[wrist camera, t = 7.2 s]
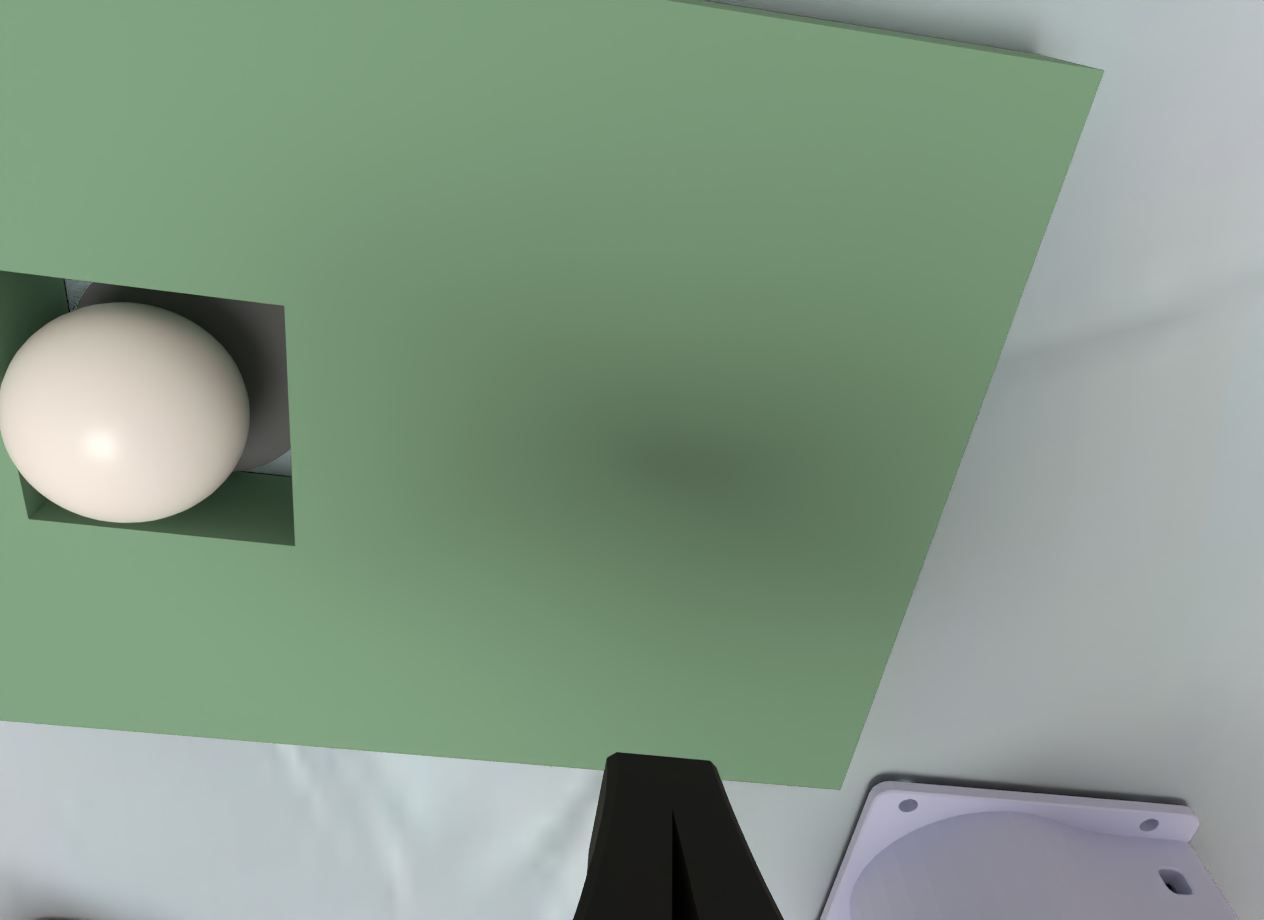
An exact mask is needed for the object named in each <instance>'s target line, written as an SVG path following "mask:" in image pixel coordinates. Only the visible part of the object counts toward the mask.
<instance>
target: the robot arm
mask: <svg viewBox="0 0 1264 920" xmlns="http://www.w3.org/2000/svg"><path fill="white" fill-rule="evenodd" d="M906 799H907V800H906ZM1199 824H1200V821H1199V818H1198V817H1197V815H1196V814H1195V812H1194V811H1193V810H1192V809H1191V808H1190V807H1187V806H1182V805H1171V804H1159V803H1147V802H1135V801H1123V800H1111V799H1099V798H1088V797H1076V796H1064V795H1052V794H1040V793H1028V792H1016V791H1004V790H992V789H980V788H968V787H956V786H944V785H933V784H921V783H909V782H897V781H884V782H881V783H879V784H877V785H876V786H874V787H873V788H872V790H871V791H870V793H869V795H868V798H867V800H866V803H865V805H864V808H863V811H862V813H861V816H860V818H859V821H858V823H857V826H856V828H855V831H854V834H853V836H852V839H851V841H850V844H849V846H848V849H847V852H846V854H845V857H844V859H843V862H842V864H841V867H840V869H839V872H838V875H837V877H836V880H835V882H834V885H833V887H832V890H831V893H830V895H829V898H828V900H827V903H826V905H825V908H824V911H823V913H822V916H821V918H820V920H1239V919H1238V918H1237V916H1236V915H1235V913H1234V911H1233V910H1232V908H1231V907H1230V905H1229V904H1228V902H1227V901H1226V899H1225V898H1224V896H1223V895H1222V893H1221V891H1220V890H1219V888H1218V887H1217V885H1216V884H1215V882H1214V881H1213V879H1212V878H1211V876H1210V875H1209V873H1208V871H1207V870H1206V868H1205V867H1204V865H1203V864H1202V862H1201V861H1200V859H1199V858H1198V856H1197V855H1196V853H1195V851H1194V850H1193V848H1192V847H1191V845H1190V844H1189V841H1190V840H1191V838H1192V837H1193V835H1194V834H1195V832H1196V831H1197V829H1198V827H1199ZM573 920H784V919H783V917H782V915H781V913H780V911H779V909H778V907H777V905H776V903H775V901H774V899H773V897H772V895H771V893H770V891H769V889H768V887H767V885H766V883H765V881H764V879H763V877H762V875H761V873H760V871H759V868H758V866H757V864H756V862H755V860H754V858H753V855H752V853H751V851H750V849H749V847H748V844H747V842H746V840H745V838H744V835H743V833H742V831H741V828H740V826H739V824H738V821H737V819H736V817H735V814H734V812H733V809H732V807H731V804H730V802H729V799H728V797H727V794H726V792H725V789H724V786H723V784H722V781H721V778H720V775H719V773H718V770H717V768H716V766H715V765H714V764H713V763H712V762H711V761H709V760H699V759H688V758H677V757H666V756H655V755H644V754H633V753H622V752H616V753H614V754H612V755H611V756H609V757H607V759H606V764H605V769H604V775H603V780H602V785H601V790H600V795H599V801H598V806H597V811H596V816H595V822H594V827H593V832H592V837H591V842H590V848H589V855H588V869H587V876H586V880H585V883H584V887H583V890H582V894H581V897H580V900H579V903H578V907H577V910H576V913H575V915H574V918H573Z"/></svg>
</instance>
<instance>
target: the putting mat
mask: <svg viewBox="0 0 1264 920" xmlns="http://www.w3.org/2000/svg"><path fill="white" fill-rule="evenodd" d="M1103 72H1104V70H1100V69H1096V68H1092V67H1088V66H1084V65H1080V64H1076V63H1072V62H1067V61H1063V60H1059V59H1055V58H1051V57H1047V56H1043V55H1039V54H1034V53H1028V52H1021V51H1015V50H1009V49H1003V48H997V47H990V46H984V45H978V44H972V43H965V42H959V41H953V40H947V39H941V38H934V37H928V36H922V35H916V34H909V33H903V32H897V31H891V30H885V29H878V28H872V27H866V26H860V25H854V24H847V23H841V22H835V21H829V20H822V19H816V18H810V17H804V16H798V15H791V14H785V13H779V12H773V11H766V10H760V9H754V8H748V7H742V6H735V5H729V4H723V3H717V2H711V1H704V0H0V389H1V384H2V381H3V379H4V376H5V373H6V371H7V369H8V366H9V364H10V362H11V361H12V359H13V357H14V356H15V354H16V353H17V351H18V350H19V349H20V348H21V347H22V345H23V344H24V343H25V342H26V341H27V340H28V339H29V338H30V336H32V335H33V334H34V333H35V332H37V331H38V330H39V329H40V328H42V327H43V326H44V325H46V324H47V323H49V322H50V321H52V320H54V319H56V318H58V317H59V316H61V315H64V314H67V313H69V310H68V304H67V298H66V292H65V286H64V280H63V278H66V279H74V280H82V281H90V282H93V283H92V284H91V285H90V286H89V287H88V289H87V290H86V292H85V293H84V295H83V297H82V298H81V300H80V302H79V304H78V307H77V309H79V308H83V307H87V306H91V305H95V304H104V303H114V302H131V303H139V304H146V305H151V306H155V307H159V308H162V309H165V310H168V311H171V312H174V313H176V314H178V315H181V316H183V317H185V318H187V319H189V320H190V321H192V322H194V323H195V324H197V325H199V326H200V327H202V328H203V329H204V330H205V331H207V332H208V333H209V334H211V335H212V336H213V337H214V338H215V339H216V340H217V341H218V342H219V343H220V344H221V345H222V346H223V347H224V348H225V350H226V351H227V352H228V353H229V354H230V356H231V357H232V359H233V361H234V362H235V364H236V365H237V367H238V369H239V371H240V373H241V375H242V378H243V381H244V384H245V387H246V390H247V393H248V399H249V405H250V426H249V432H248V437H247V441H246V444H245V447H244V450H243V453H242V455H241V457H240V459H239V461H238V463H237V464H236V466H235V468H234V470H233V471H232V472H231V474H230V475H229V476H228V478H227V479H226V480H225V481H224V482H223V483H222V484H221V485H220V486H219V487H218V488H217V489H216V490H215V491H214V492H213V493H212V494H211V495H209V496H208V497H207V498H205V499H204V500H202V501H201V502H199V503H198V504H196V505H195V506H193V507H191V508H189V509H187V510H185V511H183V512H180V513H177V514H175V515H172V516H169V517H166V518H162V519H158V520H154V521H147V522H134V523H118V522H107V521H101V520H96V519H92V518H88V517H84V516H82V515H79V514H76V513H73V512H71V511H69V510H67V509H65V508H63V507H61V506H59V505H57V504H55V503H54V502H52V501H50V500H49V499H47V498H46V497H45V496H43V495H42V494H41V493H39V492H38V491H37V490H36V489H35V488H34V487H33V486H32V485H31V484H29V483H28V481H27V480H26V479H25V478H24V477H23V476H22V474H21V473H20V472H19V470H18V469H17V467H16V466H15V464H14V463H13V461H12V460H11V458H10V456H9V454H8V452H7V450H6V448H5V445H4V442H3V439H2V435H1V431H0V721H11V722H23V723H36V724H48V725H60V726H72V727H84V728H96V729H108V730H120V731H133V732H145V733H157V734H169V735H181V736H193V737H205V738H217V739H230V740H242V741H254V742H266V743H278V744H290V745H302V746H314V747H326V748H339V749H351V750H363V751H375V752H387V753H399V754H411V755H423V756H436V757H448V758H460V759H472V760H484V761H496V762H508V763H520V764H533V765H545V766H557V767H569V768H581V769H593V770H604V769H605V764H606V759H607V757H609V756H611V755H612V754H614V753H616V752H622V753H633V754H644V755H655V756H666V757H677V758H688V759H699V760H709V761H711V762H712V763H713V764H714V765H715V766H716V768H717V770H718V773H719V775H720V778H721V780H726V781H739V782H751V783H763V784H775V785H787V786H799V787H811V788H823V789H836V790H840V789H841V787H842V784H843V781H844V779H845V776H846V773H847V770H848V768H849V765H850V762H851V759H852V757H853V754H854V751H855V749H856V746H857V743H858V740H859V738H860V735H861V732H862V729H863V727H864V724H865V721H866V719H867V716H868V713H869V710H870V708H871V705H872V702H873V699H874V697H875V694H876V691H877V689H878V686H879V683H880V680H881V678H882V675H883V672H884V669H885V667H886V664H887V661H888V659H889V656H890V653H891V650H892V648H893V645H894V642H895V640H896V637H897V634H898V631H899V629H900V626H901V623H902V620H903V618H904V615H905V612H906V610H907V607H908V604H909V601H910V599H911V596H912V593H913V590H914V588H915V585H916V582H917V580H918V577H919V574H920V571H921V569H922V566H923V563H924V560H925V558H926V555H927V552H928V550H929V547H930V544H931V541H932V539H933V536H934V533H935V530H936V528H937V525H938V522H939V520H940V517H941V514H942V511H943V509H944V506H945V503H946V500H947V498H948V495H949V492H950V490H951V487H952V484H953V481H954V479H955V476H956V473H957V470H958V468H959V465H960V462H961V460H962V457H963V454H964V451H965V449H966V446H967V443H968V440H969V438H970V435H971V432H972V430H973V427H974V424H975V421H976V419H977V416H978V413H979V410H980V408H981V405H982V402H983V400H984V397H985V394H986V391H987V389H988V386H989V383H990V380H991V378H992V375H993V372H994V370H995V367H996V364H997V361H998V359H999V356H1000V353H1001V351H1002V348H1003V345H1004V342H1005V340H1006V337H1007V334H1008V331H1009V329H1010V326H1011V323H1012V321H1013V318H1014V315H1015V312H1016V310H1017V307H1018V304H1019V301H1020V299H1021V296H1022V293H1023V291H1024V288H1025V285H1026V282H1027V280H1028V277H1029V274H1030V271H1031V269H1032V266H1033V263H1034V261H1035V258H1036V255H1037V252H1038V250H1039V247H1040V244H1041V241H1042V239H1043V236H1044V233H1045V231H1046V228H1047V225H1048V222H1049V220H1050V217H1051V214H1052V211H1053V209H1054V206H1055V203H1056V201H1057V198H1058V195H1059V192H1060V190H1061V187H1062V184H1063V181H1064V179H1065V176H1066V173H1067V171H1068V168H1069V165H1070V162H1071V160H1072V157H1073V154H1074V151H1075V149H1076V146H1077V143H1078V141H1079V138H1080V135H1081V132H1082V130H1083V127H1084V124H1085V121H1086V119H1087V116H1088V113H1089V111H1090V108H1091V105H1092V102H1093V100H1094V97H1095V94H1096V91H1097V89H1098V86H1099V83H1100V81H1101V78H1102V75H1103ZM77 309H76V310H77ZM290 448H291V466H292V477H284V476H275V475H265V474H256V473H247V472H238V471H243V470H248V469H252V468H255V467H259V466H262V465H264V464H266V463H269V462H271V461H273V460H275V459H277V458H278V457H280V456H281V455H283V454H284V453H286V452H287V451H288V450H289V449H290Z"/></svg>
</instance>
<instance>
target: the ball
mask: <svg viewBox="0 0 1264 920" xmlns="http://www.w3.org/2000/svg"><path fill="white" fill-rule="evenodd" d="M249 426H250V405H249V399H248V393H247V390H246V387H245V384H244V381H243V378H242V375H241V373H240V371H239V369H238V367H237V365H236V364H235V362H234V361H233V359H232V357H231V356H230V354H229V353H228V352H227V351H226V350H225V348H224V347H223V346H222V345H221V344H220V343H219V342H218V341H217V340H216V339H215V338H214V337H213V336H212V335H211V334H209V333H208V332H207V331H205V330H204V329H203V328H202V327H200V326H199V325H197V324H195V323H194V322H192V321H190V320H189V319H187V318H185V317H183V316H181V315H178V314H176V313H174V312H171V311H168V310H165V309H162V308H159V307H155V306H151V305H146V304H139V303H131V302H114V303H104V304H95V305H91V306H87V307H83V308H79V309H77V310H74V311H72V312H69V313H67V314H64V315H61V316H59V317H58V318H56V319H54V320H52V321H50V322H49V323H47V324H46V325H44V326H43V327H42V328H40V329H39V330H38V331H37V332H35V333H34V334H33V335H32V336H30V338H29V339H28V340H27V341H26V342H25V343H24V344H23V345H22V347H21V348H20V349H19V350H18V351H17V353H16V354H15V356H14V357H13V359H12V361H11V362H10V364H9V366H8V369H7V371H6V373H5V376H4V379H3V381H2V384H1V389H0V431H1V435H2V439H3V442H4V445H5V448H6V450H7V452H8V454H9V456H10V458H11V460H12V461H13V463H14V464H15V466H16V467H17V469H18V470H19V472H20V473H21V474H22V476H23V477H24V478H25V479H26V480H27V481H28V483H29V484H31V485H32V486H33V487H34V488H35V489H36V490H37V491H38V492H39V493H41V494H42V495H43V496H45V497H46V498H47V499H49V500H50V501H52V502H54V503H55V504H57V505H59V506H61V507H63V508H65V509H67V510H69V511H71V512H73V513H76V514H79V515H82V516H84V517H88V518H92V519H96V520H101V521H107V522H118V523H134V522H147V521H154V520H158V519H162V518H166V517H169V516H172V515H175V514H177V513H180V512H183V511H185V510H187V509H189V508H191V507H193V506H195V505H196V504H198V503H199V502H201V501H202V500H204V499H205V498H207V497H208V496H209V495H211V494H212V493H213V492H214V491H215V490H216V489H217V488H218V487H219V486H220V485H221V484H222V483H223V482H224V481H225V480H226V479H227V478H228V476H229V475H230V474H231V472H232V471H233V470H234V468H235V466H236V464H237V463H238V461H239V459H240V457H241V455H242V453H243V450H244V447H245V444H246V441H247V437H248V432H249Z"/></svg>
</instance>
